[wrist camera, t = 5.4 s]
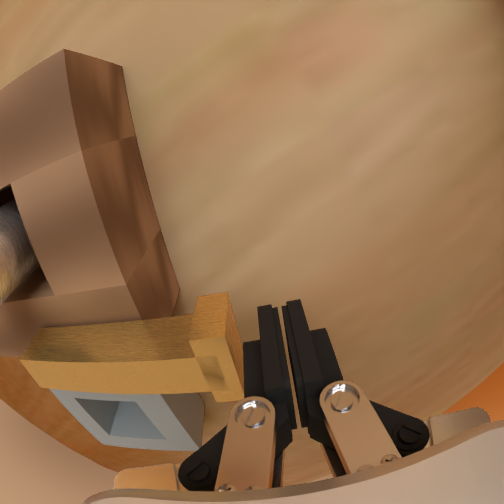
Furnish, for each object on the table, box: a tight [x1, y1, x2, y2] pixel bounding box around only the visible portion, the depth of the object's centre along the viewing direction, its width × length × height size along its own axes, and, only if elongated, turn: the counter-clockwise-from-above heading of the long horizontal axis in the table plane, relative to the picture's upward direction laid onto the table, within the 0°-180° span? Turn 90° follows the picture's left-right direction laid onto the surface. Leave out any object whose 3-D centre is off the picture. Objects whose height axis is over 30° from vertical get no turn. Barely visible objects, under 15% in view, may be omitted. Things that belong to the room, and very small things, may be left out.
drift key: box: [19, 292, 244, 402], centre depth 11 cm, size 4×10×2 cm, turn 100°
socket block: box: [0, 49, 180, 357], centre depth 13 cm, size 14×14×6 cm
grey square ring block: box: [49, 388, 205, 451], centre depth 20 cm, size 10×10×5 cm
